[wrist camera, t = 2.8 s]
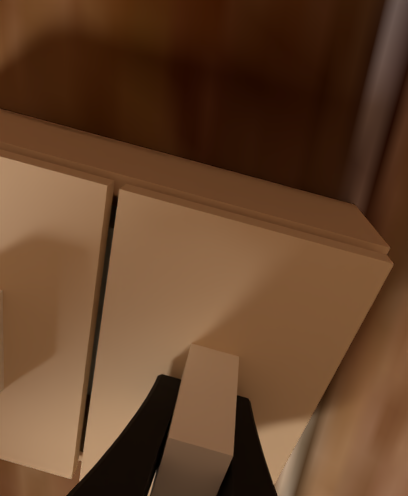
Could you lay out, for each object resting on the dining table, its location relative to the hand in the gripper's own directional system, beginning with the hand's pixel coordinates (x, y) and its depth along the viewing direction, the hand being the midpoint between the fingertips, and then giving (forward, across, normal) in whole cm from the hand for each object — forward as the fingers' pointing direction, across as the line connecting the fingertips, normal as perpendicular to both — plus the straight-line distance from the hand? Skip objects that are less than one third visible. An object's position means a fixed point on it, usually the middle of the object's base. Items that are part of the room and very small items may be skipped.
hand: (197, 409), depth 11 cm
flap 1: (+1, +7, 0) cm, 7 cm away
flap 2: (+1, 0, 0) cm, 1 cm away
